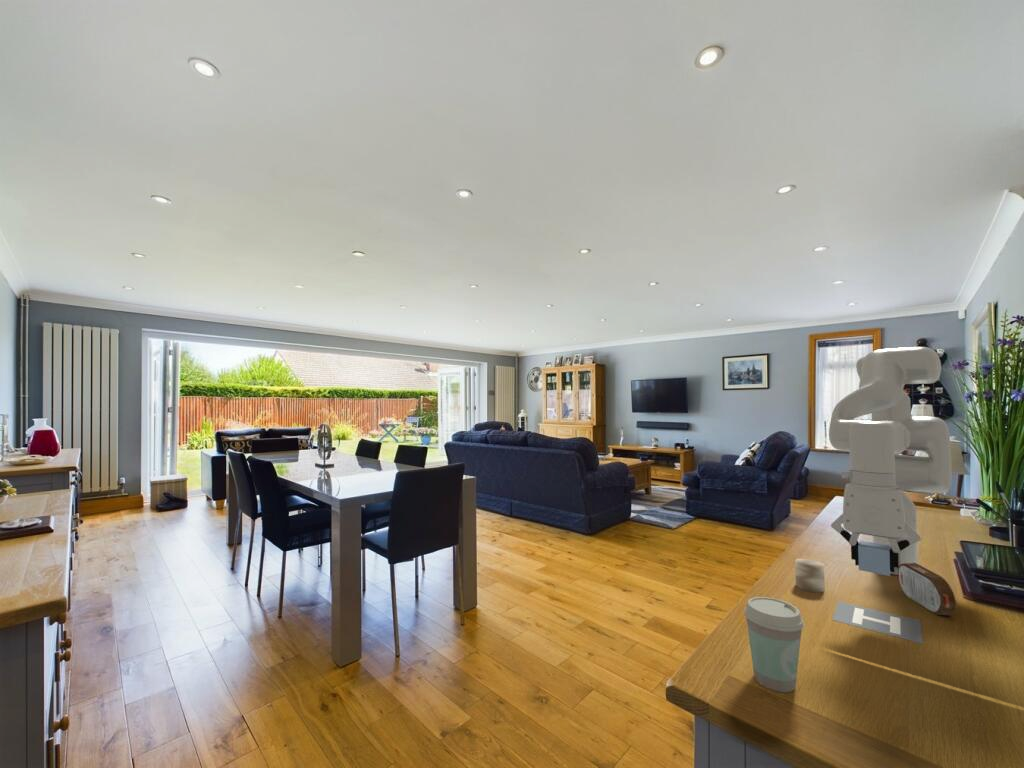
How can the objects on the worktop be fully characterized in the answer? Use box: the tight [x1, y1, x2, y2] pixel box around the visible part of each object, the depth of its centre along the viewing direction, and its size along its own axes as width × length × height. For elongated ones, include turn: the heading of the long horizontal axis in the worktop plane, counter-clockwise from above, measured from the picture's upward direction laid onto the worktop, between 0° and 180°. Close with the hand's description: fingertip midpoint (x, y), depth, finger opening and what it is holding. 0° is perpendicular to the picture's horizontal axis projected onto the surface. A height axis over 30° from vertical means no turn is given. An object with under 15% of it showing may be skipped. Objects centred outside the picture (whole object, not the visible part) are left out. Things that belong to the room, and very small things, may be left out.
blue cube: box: [858, 540, 891, 577], centre depth 94 cm, size 5×5×5 cm
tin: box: [897, 563, 957, 617], centre depth 101 cm, size 15×3×8 cm, turn 168°
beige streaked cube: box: [794, 558, 826, 594], centre depth 110 cm, size 6×6×6 cm
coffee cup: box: [743, 596, 805, 693], centre depth 73 cm, size 8×9×12 cm
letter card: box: [832, 600, 924, 644], centre depth 93 cm, size 12×14×1 cm
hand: (874, 566), depth 94 cm, fingers closed on blue cube, 5 cm apart
